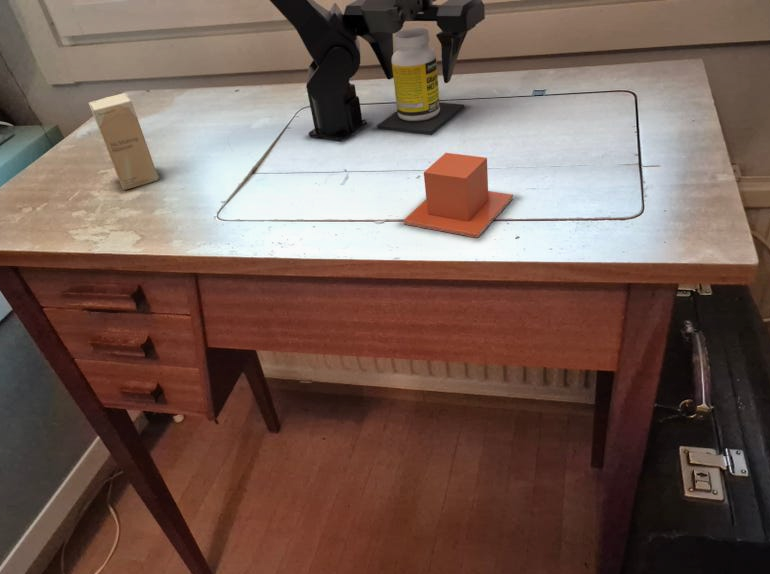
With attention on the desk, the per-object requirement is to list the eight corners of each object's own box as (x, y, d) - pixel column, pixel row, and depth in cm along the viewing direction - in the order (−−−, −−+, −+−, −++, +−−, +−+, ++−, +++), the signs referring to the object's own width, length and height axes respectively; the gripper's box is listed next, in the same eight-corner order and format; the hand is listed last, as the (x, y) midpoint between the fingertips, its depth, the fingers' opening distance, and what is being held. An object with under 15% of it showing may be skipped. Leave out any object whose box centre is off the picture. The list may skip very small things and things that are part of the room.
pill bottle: (437, 121, 92) (430, 37, 85) (394, 124, 94) (384, 41, 87) (443, 105, 97) (437, 24, 90) (402, 107, 98) (393, 28, 91)
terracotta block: (427, 214, 73) (423, 172, 69) (448, 194, 76) (445, 152, 72) (468, 221, 70) (465, 178, 67) (488, 200, 73) (487, 157, 70)
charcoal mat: (377, 128, 95) (376, 125, 94) (412, 103, 101) (411, 99, 100) (431, 134, 90) (431, 131, 90) (464, 107, 96) (464, 104, 96)
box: (124, 191, 90) (90, 110, 83) (119, 180, 93) (85, 102, 86) (161, 179, 91) (131, 99, 84) (155, 169, 94) (125, 90, 87)
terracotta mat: (403, 224, 73) (403, 220, 72) (442, 187, 78) (442, 183, 78) (477, 238, 68) (477, 233, 68) (513, 198, 74) (513, 194, 73)
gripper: (308, -30, 82) (331, 97, 92) (440, -34, 73) (450, 107, 83) (357, -51, 88) (374, 69, 98) (484, -57, 79) (488, 76, 90)
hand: (418, 80), depth 92 cm, fingers open, 9 cm apart
